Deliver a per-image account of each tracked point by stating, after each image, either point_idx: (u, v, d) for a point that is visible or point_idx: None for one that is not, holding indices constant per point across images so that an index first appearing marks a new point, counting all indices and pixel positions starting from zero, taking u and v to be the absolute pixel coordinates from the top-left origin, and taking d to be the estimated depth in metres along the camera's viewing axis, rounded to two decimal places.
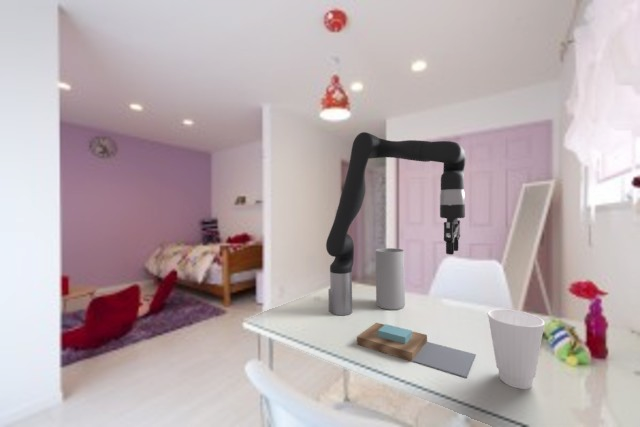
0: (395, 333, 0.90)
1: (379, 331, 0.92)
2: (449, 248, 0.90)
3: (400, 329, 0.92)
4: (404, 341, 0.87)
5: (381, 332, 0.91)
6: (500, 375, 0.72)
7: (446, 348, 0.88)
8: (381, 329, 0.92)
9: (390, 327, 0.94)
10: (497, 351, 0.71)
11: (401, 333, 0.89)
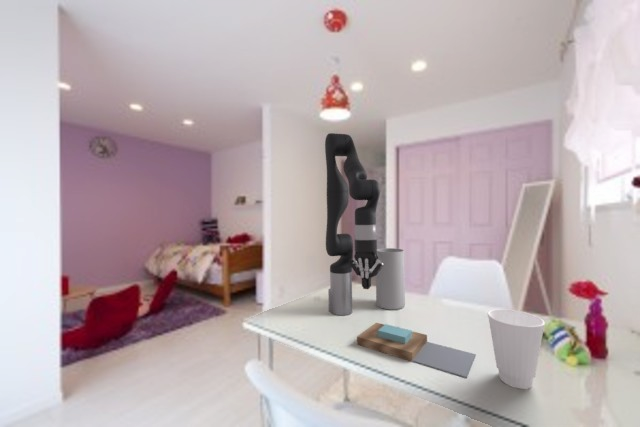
0: (395, 333, 0.90)
1: (379, 331, 0.92)
2: (370, 283, 0.97)
3: (400, 329, 0.92)
4: (404, 341, 0.87)
5: (381, 332, 0.91)
6: (500, 375, 0.72)
7: (446, 348, 0.88)
8: (381, 329, 0.92)
9: (390, 327, 0.94)
10: (497, 351, 0.71)
11: (401, 333, 0.89)
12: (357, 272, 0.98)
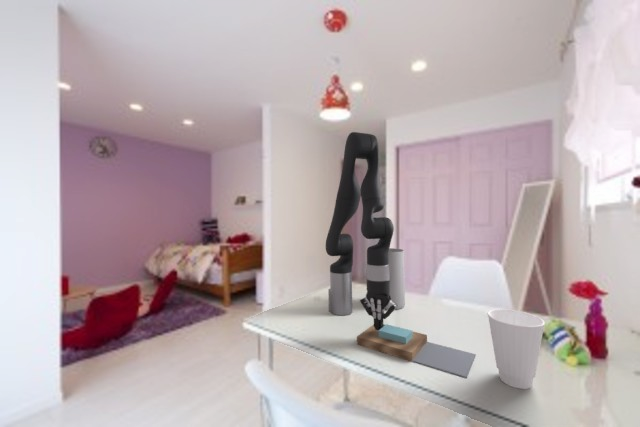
0: (395, 333, 0.90)
1: (379, 331, 0.92)
2: (382, 324, 0.94)
3: (401, 329, 0.92)
4: (405, 341, 0.87)
5: (381, 333, 0.91)
6: (500, 375, 0.72)
7: (446, 348, 0.88)
8: (382, 329, 0.92)
9: (391, 327, 0.94)
10: (497, 351, 0.71)
11: (402, 333, 0.89)
12: (369, 312, 0.95)
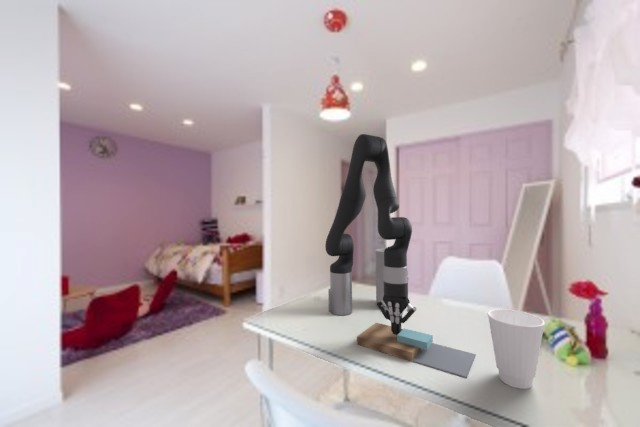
0: (415, 338, 0.86)
1: (398, 335, 0.88)
2: (400, 328, 0.90)
3: (420, 334, 0.88)
4: (426, 347, 0.83)
5: (400, 337, 0.87)
6: (500, 375, 0.72)
7: (446, 348, 0.88)
8: (400, 334, 0.89)
9: (409, 331, 0.90)
10: (497, 351, 0.71)
11: (422, 338, 0.85)
12: (386, 316, 0.92)
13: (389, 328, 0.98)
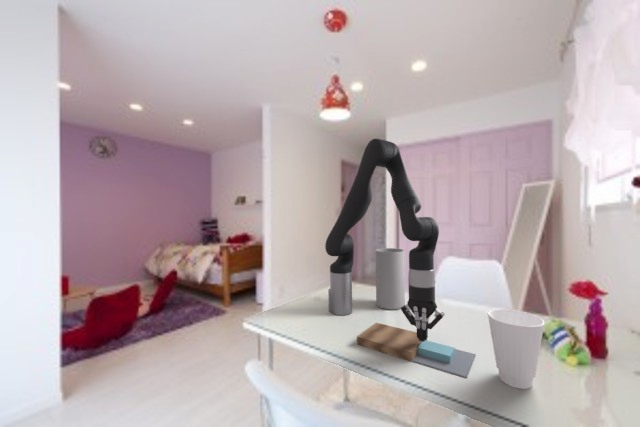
0: (437, 350, 0.82)
1: (419, 348, 0.84)
2: (427, 334, 0.85)
3: (442, 346, 0.85)
4: (449, 360, 0.80)
5: (421, 350, 0.84)
6: (500, 375, 0.72)
7: None
8: (421, 346, 0.85)
9: (430, 343, 0.87)
10: (497, 351, 0.71)
11: (445, 351, 0.82)
12: (411, 321, 0.87)
13: (389, 328, 0.98)
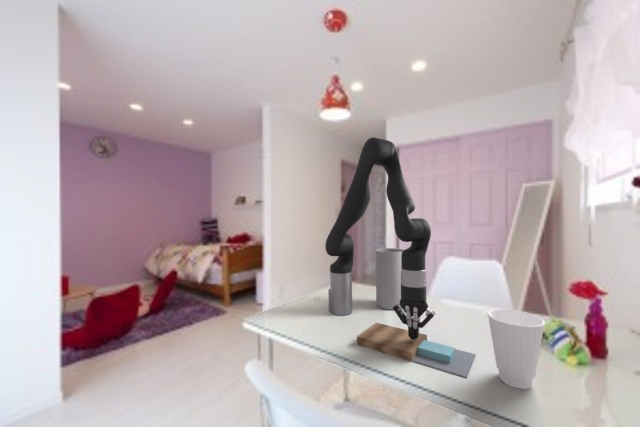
0: (437, 350, 0.82)
1: (419, 348, 0.84)
2: (418, 333, 0.87)
3: (442, 346, 0.85)
4: (449, 360, 0.80)
5: (421, 350, 0.84)
6: (500, 375, 0.72)
7: None
8: (421, 346, 0.85)
9: (430, 343, 0.87)
10: (497, 351, 0.71)
11: (445, 351, 0.82)
12: (403, 320, 0.89)
13: (389, 328, 0.98)
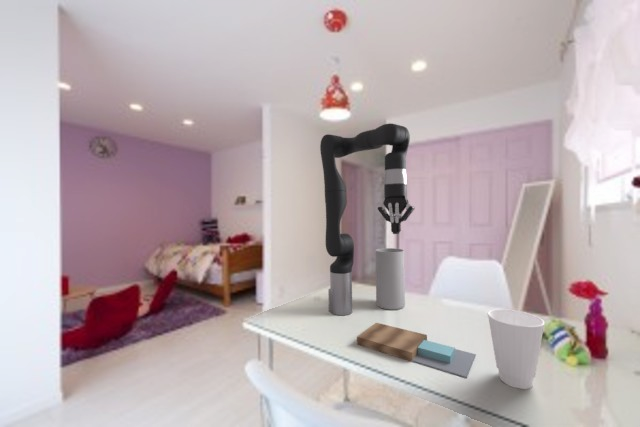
0: (437, 350, 0.82)
1: (419, 348, 0.84)
2: (400, 228, 0.97)
3: (442, 346, 0.85)
4: (449, 360, 0.80)
5: (421, 350, 0.84)
6: (500, 375, 0.72)
7: None
8: (421, 346, 0.85)
9: (430, 343, 0.87)
10: (497, 351, 0.71)
11: (445, 351, 0.82)
12: (386, 218, 0.99)
13: (389, 328, 0.98)
